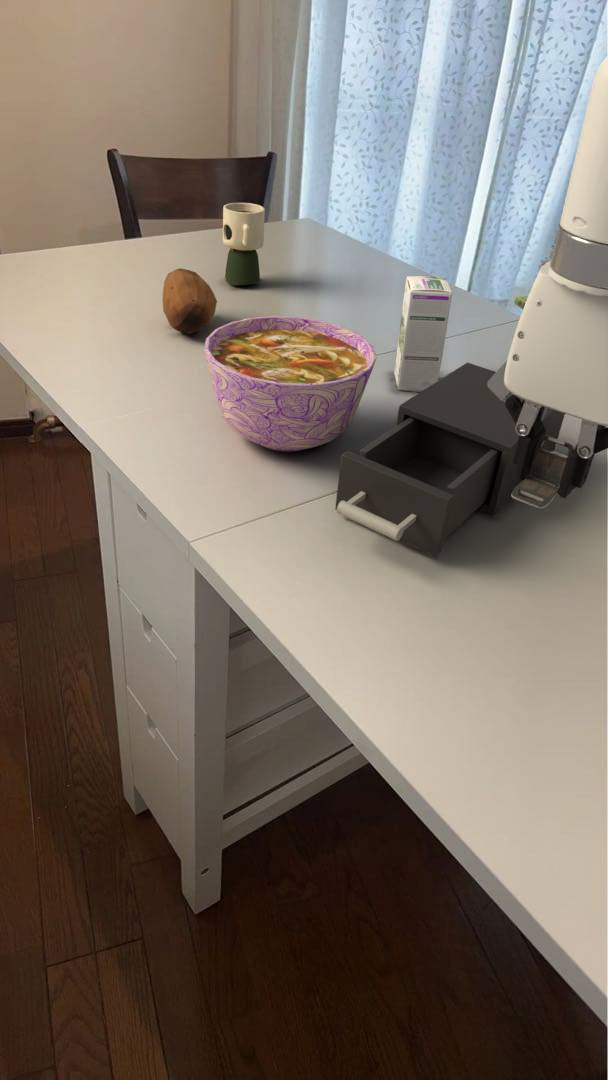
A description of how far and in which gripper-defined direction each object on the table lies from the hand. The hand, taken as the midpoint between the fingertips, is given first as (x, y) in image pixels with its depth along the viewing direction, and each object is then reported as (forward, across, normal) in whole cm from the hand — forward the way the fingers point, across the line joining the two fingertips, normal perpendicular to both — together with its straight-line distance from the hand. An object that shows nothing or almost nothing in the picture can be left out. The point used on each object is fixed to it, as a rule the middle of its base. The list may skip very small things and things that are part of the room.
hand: (546, 480), depth 66 cm
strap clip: (+1, 0, 0) cm, 1 cm away
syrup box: (+15, +32, -37) cm, 51 cm away
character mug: (+15, +76, -51) cm, 93 cm away
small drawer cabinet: (+15, +15, -22) cm, 31 cm away
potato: (+15, +68, -29) cm, 76 cm away
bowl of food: (+15, +36, -12) cm, 41 cm away
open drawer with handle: (+14, +15, -7) cm, 22 cm away
